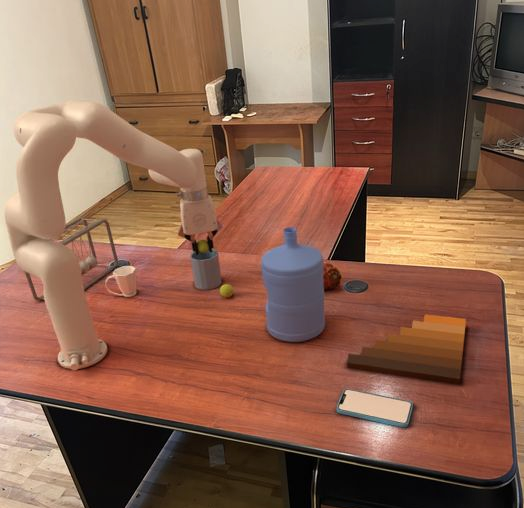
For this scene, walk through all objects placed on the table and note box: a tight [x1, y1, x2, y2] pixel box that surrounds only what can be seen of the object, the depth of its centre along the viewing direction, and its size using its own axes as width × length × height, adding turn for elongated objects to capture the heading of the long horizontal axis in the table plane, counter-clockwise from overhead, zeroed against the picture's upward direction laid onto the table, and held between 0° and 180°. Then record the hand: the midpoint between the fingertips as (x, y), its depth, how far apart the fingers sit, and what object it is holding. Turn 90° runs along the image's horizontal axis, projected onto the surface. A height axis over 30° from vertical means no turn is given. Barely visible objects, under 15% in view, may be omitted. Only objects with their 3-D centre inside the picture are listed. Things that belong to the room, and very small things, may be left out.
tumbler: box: [189, 248, 223, 291], centre depth 169 cm, size 9×9×10 cm
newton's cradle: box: [23, 216, 119, 302], centre depth 175 cm, size 30×10×18 cm, turn 156°
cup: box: [105, 265, 138, 298], centre depth 168 cm, size 7×10×8 cm
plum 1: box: [196, 239, 209, 253], centre depth 166 cm, size 4×4×4 cm
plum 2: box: [219, 283, 234, 298], centre depth 163 cm, size 4×4×4 cm
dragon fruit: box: [323, 262, 342, 290], centre depth 162 cm, size 8×8×12 cm
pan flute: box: [346, 314, 467, 385], centre depth 133 cm, size 25×3×25 cm
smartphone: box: [336, 388, 414, 428], centre depth 116 cm, size 8×1×15 cm
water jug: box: [260, 226, 326, 343], centre depth 139 cm, size 16×16×28 cm
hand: (203, 251), depth 166 cm, fingers closed on plum 1, 3 cm apart
